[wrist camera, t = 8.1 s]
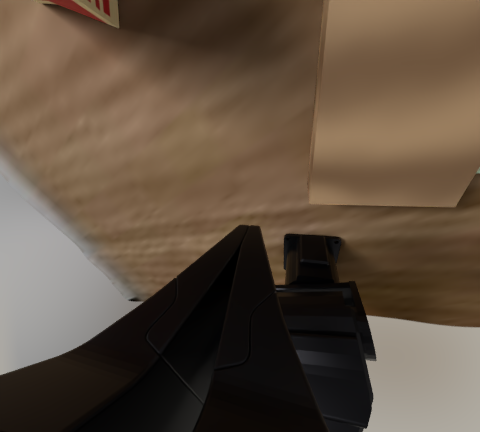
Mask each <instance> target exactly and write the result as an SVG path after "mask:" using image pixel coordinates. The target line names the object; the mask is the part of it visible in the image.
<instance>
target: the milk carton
mask: <svg viewBox="0 0 480 432" xmlns="http://www.w3.org/2000/svg"><path fill="white" fill-rule="evenodd" d="M32 1H35V2H38V3H45V4H57V5H60V6H63V7H65V8H68V9H70V10H73V11H75V12H78V13H80V14H83V15H86V16H88V17H91V18H93V19H96V20H98V21H101V22H103V23H106V24H109V25H111V26H114V27H116V28H119V14H118V0H32Z"/></svg>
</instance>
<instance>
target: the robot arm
mask: <svg viewBox="0 0 480 432" xmlns="http://www.w3.org/2000/svg"><path fill="white" fill-rule="evenodd" d="M288 237H289V238H288ZM335 241H337V242H335ZM340 246H341V239H340V238H339V237H331V236H315V235H299V234H286V235H285V236H284V269H285V270H286V278H285V285H275V284H274V280H273V276H272V272H271V268H270V264H269V260H268V256H267V252H266V249H265V245H264V241H263V237H262V233H261V229H260V226H254V225H251V226H249V225H239V226H238V227H236V228H235V229H234V230H233V231H232V232H230V233H229V234H228V235H227V236H225V237H224V238H223V239H222V240H221V241H219V242H218V243H217V244H216V245H214V246H213V247H212V248H211V249H210V250H208V251H207V252H206V253H205V254H203V255H202V256H201V257H200V258H199V259H197V260H196V261H195V262H194V263H193V264H191V265H190V266H189V267H188V268H186V269H185V270H184V271H183V272H182V273H180V274H179V275H178V276H177V278H174V279H173V280H172V281H170V282H169V283H168V284H167V285H166V286H164V287H163V288H162V289H160V290H159V291H158V292H157V293H155V294H154V295H153V296H151V297H150V298H149V299H147V300H146V301H145V302H143V303H142V304H141V305H139V306H138V307H136V308H135V309H134V310H132V311H131V312H129V313H128V314H126V315H125V316H123V317H122V318H121V319H119V320H118V321H116V322H115V323H114V324H112V325H111V326H109V327H108V328H106V329H105V330H103V331H102V332H101V333H99V334H98V335H96V336H95V337H93V338H92V339H90V340H89V341H87V342H86V343H84V344H82V345H81V346H79V347H77V348H75V349H73V350H71V351H69V352H67V353H64V354H62V355H59V356H57V357H54V358H51V359H48V360H45V361H42V362H39V363H36V364H33V365H30V366H27V367H24V368H21V369H18V370H15V371H12V372H9V373H6V374H3V375H0V432H362V431H363V429H364V428H365V429H366V428H367V426H368V422H369V418H370V414H371V410H372V407H371V405H372V402H373V392H372V387H371V383H370V379H369V374H368V369H367V365H366V360H370V361H376V354H375V349H374V344H373V340H372V335H371V332H370V328H369V324H368V320H367V317H366V313H365V310H364V307H363V304H362V301H361V298H360V295H359V292H358V289H357V286H356V283H355V281H349V282H345V283H339V278H338V273H337V268H336V262H337V258H338V254H339V250H340Z"/></svg>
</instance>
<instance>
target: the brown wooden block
mask: <svg viewBox="0 0 480 432" xmlns="http://www.w3.org/2000/svg"><path fill="white" fill-rule="evenodd" d="M479 167H480V0H323V10H322V21H321V33H320V44H319V56H318V68H317V79H316V91H315V102H314V114H313V125H312V137H311V148H310V160H309V171H308V183H307V185H308V196H309V204H326V205H372V206H418V207H455V206H456V205H457V203H458V202H459V200H460V198H461V197H462V195H463V193H464V192H465V190H466V189H467V187H468V185H469V184H470V182H471V180H472V179H473V177H474V176H475V174H476V172H477V171H478V169H479Z"/></svg>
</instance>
